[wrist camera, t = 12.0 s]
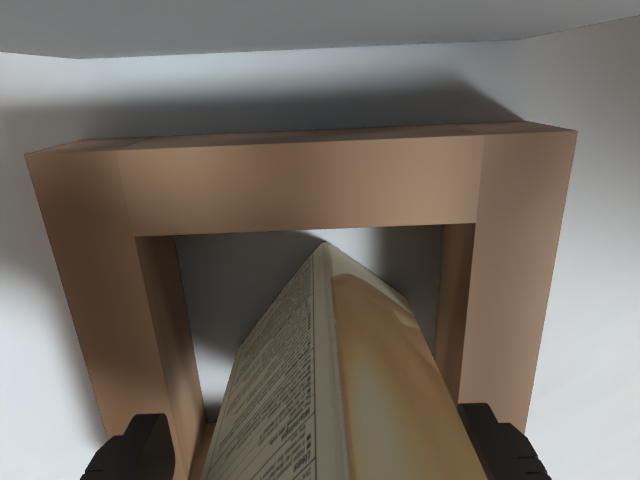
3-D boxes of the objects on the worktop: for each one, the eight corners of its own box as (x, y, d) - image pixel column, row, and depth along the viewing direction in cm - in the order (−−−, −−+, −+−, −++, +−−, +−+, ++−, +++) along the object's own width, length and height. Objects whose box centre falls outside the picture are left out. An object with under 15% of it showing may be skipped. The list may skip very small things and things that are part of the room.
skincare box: (318, 397, 18) (320, 935, 7) (233, 348, 17) (69, 875, 6) (415, 292, 16) (645, 786, 5) (327, 230, 15) (355, 662, 4)
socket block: (525, 120, 14) (578, 130, 11) (481, 454, 19) (509, 517, 17) (82, 139, 14) (24, 154, 11) (160, 465, 19) (134, 530, 17)
